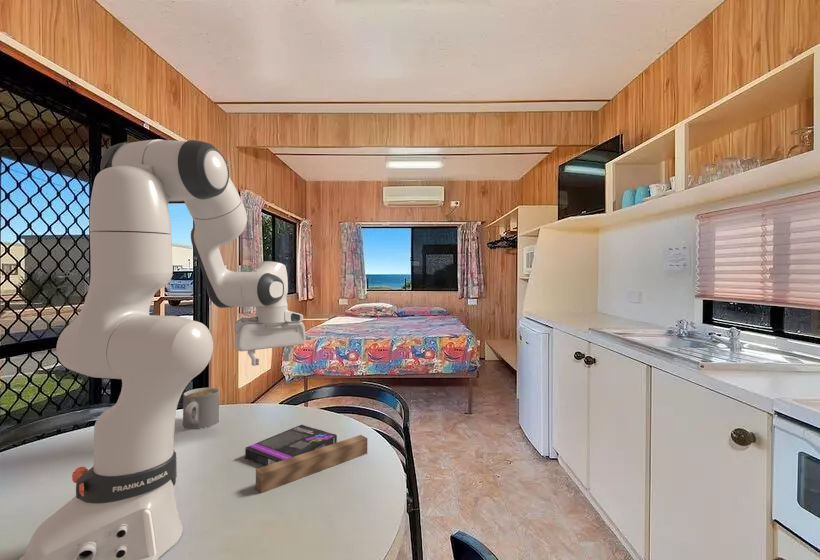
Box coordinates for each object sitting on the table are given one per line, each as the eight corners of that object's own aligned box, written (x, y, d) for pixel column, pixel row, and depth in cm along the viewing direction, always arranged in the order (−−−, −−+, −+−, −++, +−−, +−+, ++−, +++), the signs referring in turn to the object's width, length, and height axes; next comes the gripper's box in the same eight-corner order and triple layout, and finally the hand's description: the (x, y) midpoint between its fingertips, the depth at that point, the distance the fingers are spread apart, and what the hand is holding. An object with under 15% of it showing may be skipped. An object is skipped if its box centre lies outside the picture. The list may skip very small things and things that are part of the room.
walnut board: (260, 493, 79) (261, 474, 79) (255, 487, 81) (255, 469, 82) (367, 453, 98) (367, 438, 98) (360, 449, 101) (360, 434, 101)
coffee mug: (198, 417, 124) (198, 386, 124) (225, 419, 122) (226, 388, 123) (166, 432, 111) (166, 399, 111) (196, 435, 109) (196, 400, 109)
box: (281, 477, 88) (337, 445, 105) (281, 462, 88) (337, 432, 105) (244, 461, 95) (302, 433, 112) (244, 447, 95) (302, 422, 112)
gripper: (239, 319, 101) (238, 370, 101) (308, 315, 115) (307, 360, 115) (231, 317, 106) (230, 366, 106) (298, 313, 120) (298, 357, 119)
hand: (271, 362), depth 110 cm, fingers open, 8 cm apart
